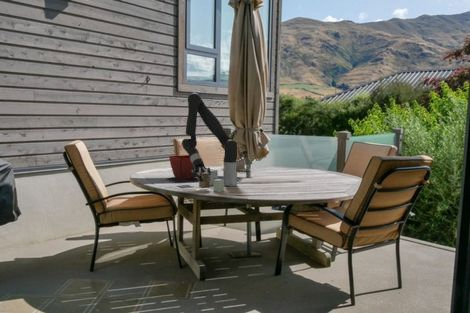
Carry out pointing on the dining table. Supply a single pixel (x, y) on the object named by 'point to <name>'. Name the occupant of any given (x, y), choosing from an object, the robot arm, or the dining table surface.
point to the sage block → (218, 185)
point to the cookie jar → (239, 165)
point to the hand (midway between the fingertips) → (205, 180)
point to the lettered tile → (203, 189)
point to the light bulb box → (213, 176)
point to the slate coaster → (184, 186)
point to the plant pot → (182, 166)
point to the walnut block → (204, 180)
